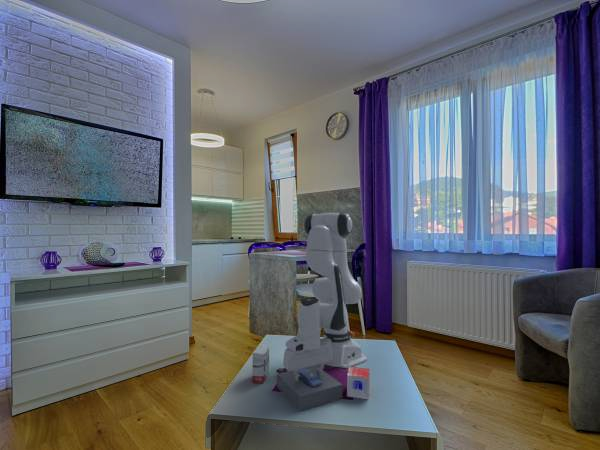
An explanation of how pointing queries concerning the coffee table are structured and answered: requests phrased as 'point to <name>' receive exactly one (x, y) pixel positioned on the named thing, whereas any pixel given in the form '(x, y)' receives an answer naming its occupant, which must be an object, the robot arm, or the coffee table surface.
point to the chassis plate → (309, 389)
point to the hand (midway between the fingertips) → (308, 377)
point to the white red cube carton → (358, 382)
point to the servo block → (309, 377)
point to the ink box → (260, 364)
